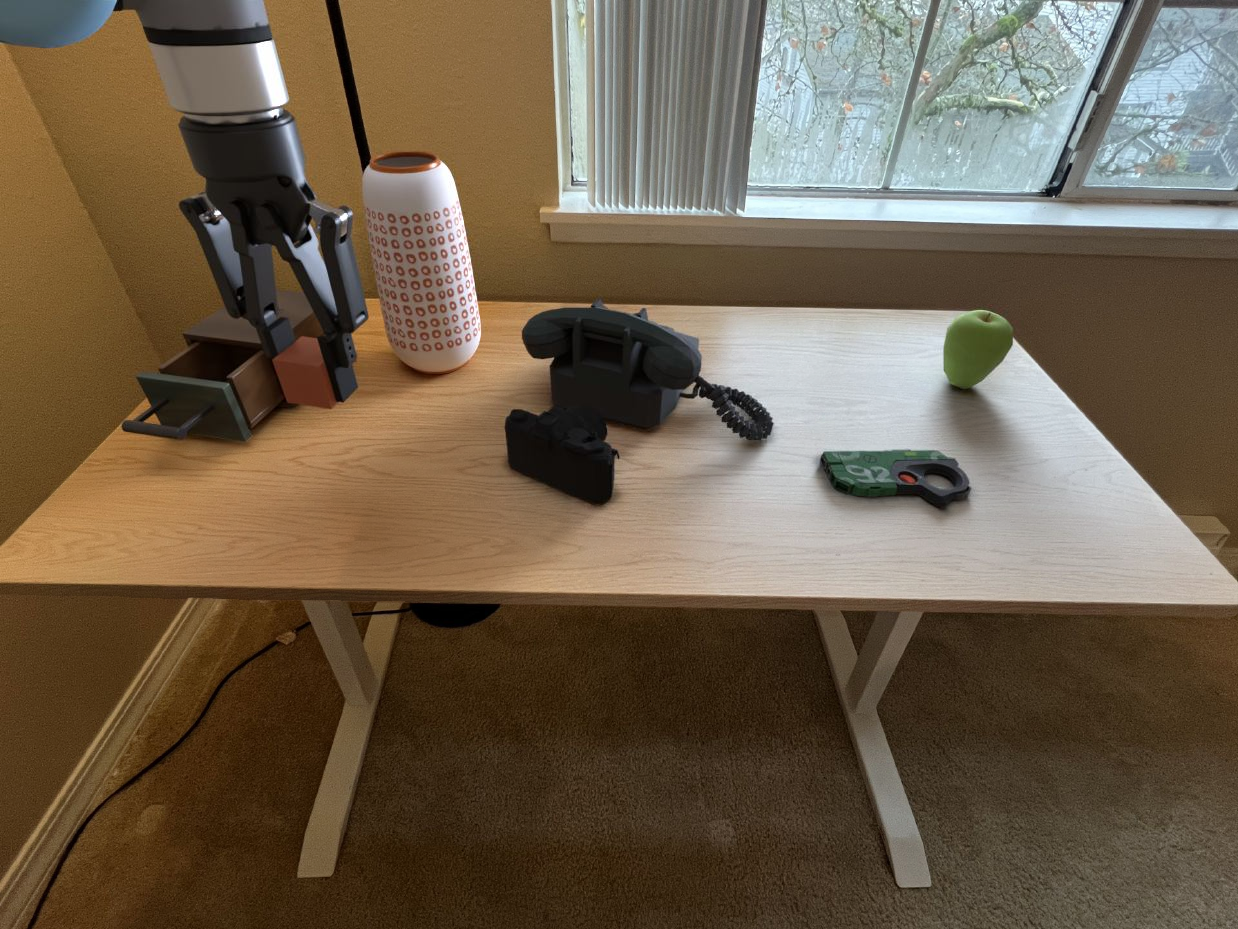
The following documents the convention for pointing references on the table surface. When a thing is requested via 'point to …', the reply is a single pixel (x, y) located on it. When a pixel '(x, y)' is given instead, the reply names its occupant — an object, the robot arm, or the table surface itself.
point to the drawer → (209, 393)
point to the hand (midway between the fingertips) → (321, 390)
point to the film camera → (563, 450)
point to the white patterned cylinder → (421, 260)
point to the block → (305, 374)
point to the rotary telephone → (630, 368)
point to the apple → (975, 347)
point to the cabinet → (244, 334)
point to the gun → (894, 473)
